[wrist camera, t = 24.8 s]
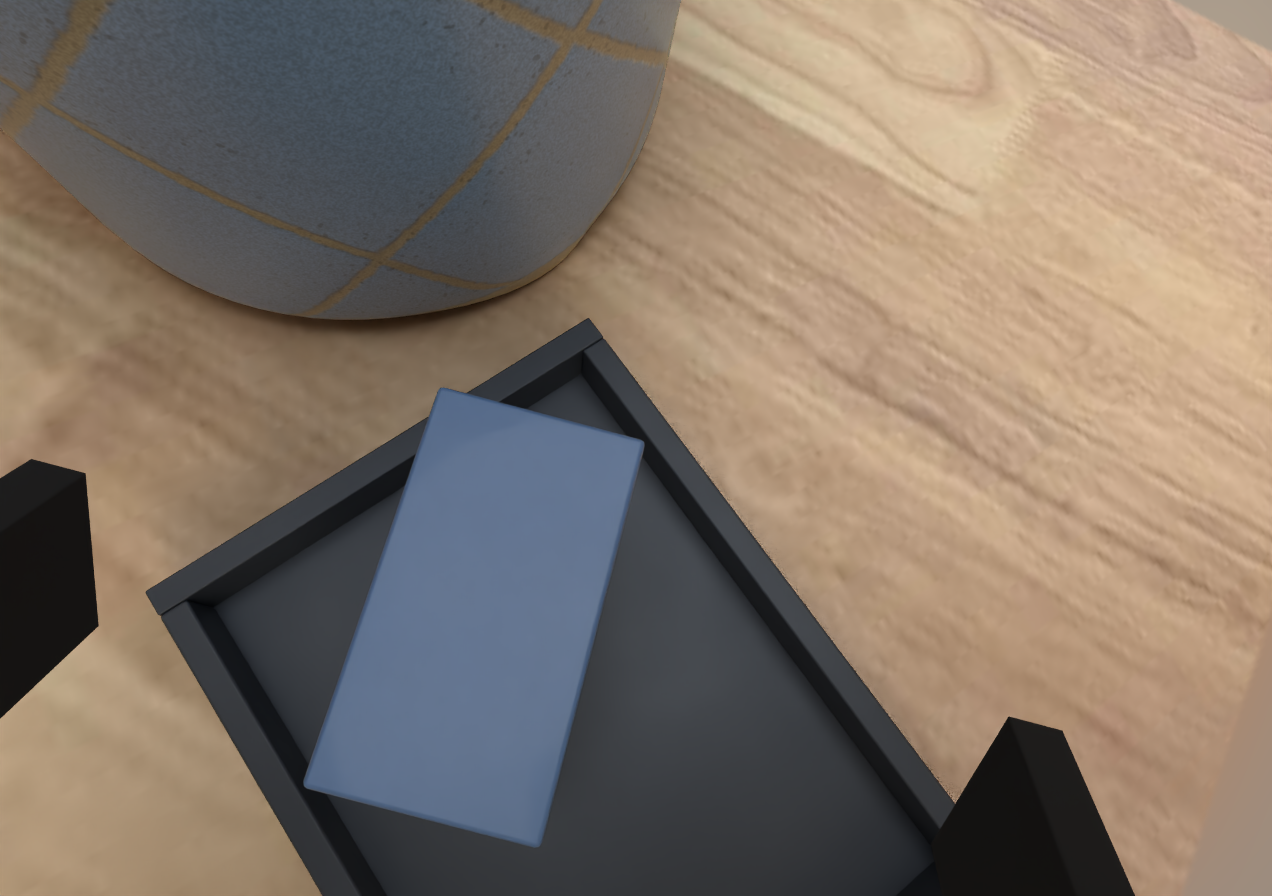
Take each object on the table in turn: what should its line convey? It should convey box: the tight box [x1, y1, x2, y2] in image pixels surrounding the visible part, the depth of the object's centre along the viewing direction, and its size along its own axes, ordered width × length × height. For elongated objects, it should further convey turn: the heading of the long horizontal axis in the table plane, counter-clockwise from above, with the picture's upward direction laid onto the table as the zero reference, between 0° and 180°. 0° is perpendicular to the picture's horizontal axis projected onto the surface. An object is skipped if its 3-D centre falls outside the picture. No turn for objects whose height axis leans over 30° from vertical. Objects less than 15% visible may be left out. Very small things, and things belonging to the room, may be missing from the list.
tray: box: [146, 318, 955, 896], centre depth 24 cm, size 20×15×3 cm
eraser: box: [303, 388, 645, 848], centre depth 20 cm, size 8×4×11 cm, turn 166°
